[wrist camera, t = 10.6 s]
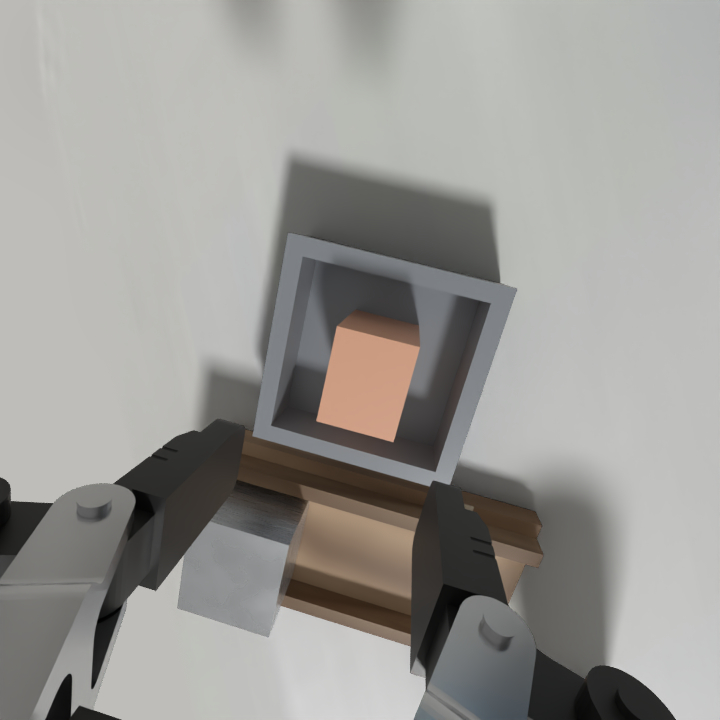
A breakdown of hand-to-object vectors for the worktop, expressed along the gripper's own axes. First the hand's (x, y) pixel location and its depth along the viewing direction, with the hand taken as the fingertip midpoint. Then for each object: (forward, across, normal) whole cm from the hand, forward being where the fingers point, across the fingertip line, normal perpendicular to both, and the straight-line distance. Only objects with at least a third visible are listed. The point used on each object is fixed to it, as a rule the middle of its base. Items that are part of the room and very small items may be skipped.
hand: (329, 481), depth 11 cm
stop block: (+15, 0, 0) cm, 15 cm away
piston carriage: (+14, +5, +14) cm, 20 cm away
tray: (+15, 0, 0) cm, 15 cm away
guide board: (+15, -2, +14) cm, 21 cm away
